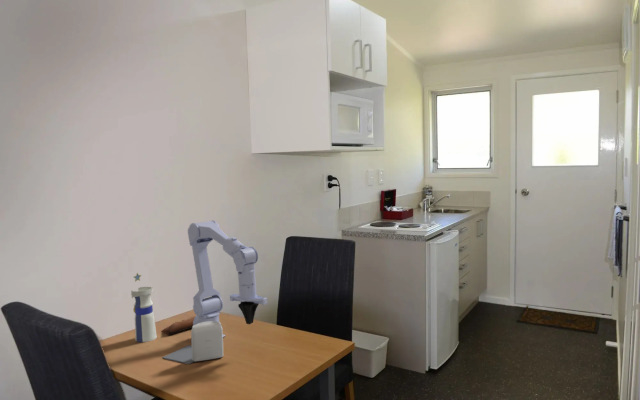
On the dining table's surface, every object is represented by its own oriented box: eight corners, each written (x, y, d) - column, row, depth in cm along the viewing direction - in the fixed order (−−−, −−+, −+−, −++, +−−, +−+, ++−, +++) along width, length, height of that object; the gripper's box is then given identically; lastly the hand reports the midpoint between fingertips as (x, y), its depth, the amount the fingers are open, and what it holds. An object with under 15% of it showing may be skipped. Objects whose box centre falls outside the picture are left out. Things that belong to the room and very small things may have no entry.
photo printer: (192, 363, 154) (191, 326, 153) (191, 357, 158) (190, 321, 157) (224, 358, 157) (223, 322, 156) (222, 353, 161) (221, 318, 160)
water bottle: (128, 341, 178) (123, 276, 177) (144, 334, 186) (140, 271, 184) (146, 343, 175) (140, 277, 173) (161, 335, 183) (156, 272, 181)
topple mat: (162, 358, 160) (162, 357, 160) (188, 346, 170) (188, 345, 170) (189, 364, 154) (189, 363, 154) (214, 351, 164) (214, 350, 164)
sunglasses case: (199, 319, 200) (202, 308, 198) (207, 331, 196) (210, 319, 194) (159, 331, 188) (162, 319, 185) (167, 344, 184) (170, 331, 181)
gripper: (222, 284, 159) (225, 324, 160) (257, 288, 152) (259, 329, 153) (236, 280, 165) (238, 318, 166) (270, 283, 158) (272, 323, 159)
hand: (249, 323), depth 160 cm, fingers closed
